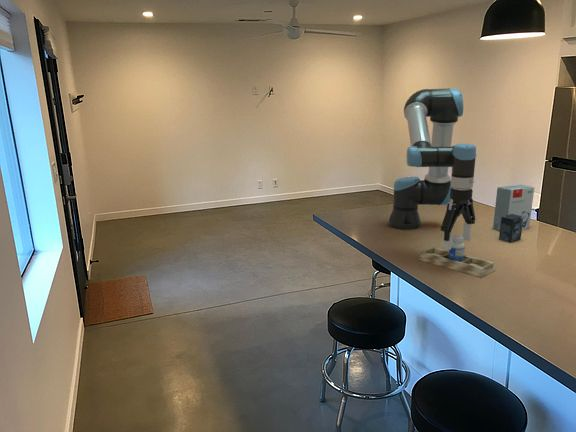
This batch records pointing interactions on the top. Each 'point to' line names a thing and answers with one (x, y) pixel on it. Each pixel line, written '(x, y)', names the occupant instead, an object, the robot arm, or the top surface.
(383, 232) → the top surface
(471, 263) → the three-compartment tray
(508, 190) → the hard drive box
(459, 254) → the pill bottle
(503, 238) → the box
